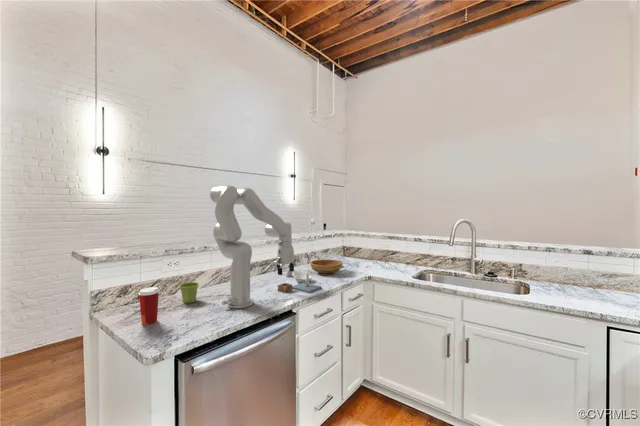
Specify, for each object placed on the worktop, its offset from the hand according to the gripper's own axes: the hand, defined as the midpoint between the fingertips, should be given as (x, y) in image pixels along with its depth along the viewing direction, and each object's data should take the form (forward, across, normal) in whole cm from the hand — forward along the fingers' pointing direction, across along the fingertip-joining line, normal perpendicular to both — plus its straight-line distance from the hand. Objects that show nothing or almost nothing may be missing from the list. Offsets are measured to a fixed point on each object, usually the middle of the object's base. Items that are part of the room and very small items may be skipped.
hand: (286, 272), depth 164 cm
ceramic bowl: (+12, +49, +6) cm, 51 cm away
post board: (+11, +10, -7) cm, 16 cm away
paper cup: (+8, -68, +15) cm, 70 cm away
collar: (+10, -1, 0) cm, 10 cm away
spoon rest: (+12, +22, +10) cm, 27 cm away
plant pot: (+9, -44, +27) cm, 53 cm away
